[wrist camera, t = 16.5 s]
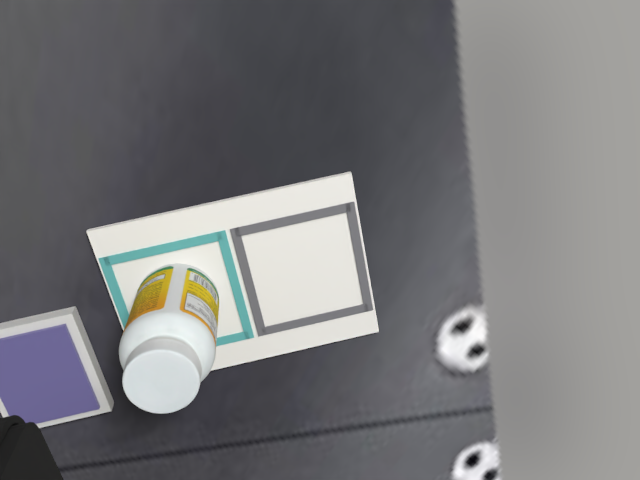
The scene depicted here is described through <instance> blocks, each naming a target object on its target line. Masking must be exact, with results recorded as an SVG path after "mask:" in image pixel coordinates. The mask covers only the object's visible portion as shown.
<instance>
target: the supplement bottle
mask: <svg viewBox="0 0 640 480" xmlns="http://www.w3.org/2000/svg"><path fill="white" fill-rule="evenodd" d="M218 314H219V294H218V290H217V287H216V285H215V284H214V282H213V280H212V279H211V278H210V277H209V276H208V275H207V274H206V273H205V272H203V271H202V270H200V269H199V268H197V267H194V266H191V265H188V264H181V263H175V264H167V265H164V266H162V267H160V268H157V269H156V270H154V271H152V272H151V273H150V274H148V275H147V276H146V277H145V279H144V280H143V281H142V283H141V284H140V286H139V288H138V291H137V294H136V297H135V300H134V303H133V306H132V309H131V312H130V314H129V317H128V320H127V323H126V326H125V329H124V331H123V334H122V337H121V341H120V345H119V359H120V363H121V366H122V368H123V370H124V372H123V377H122V384H123V389H124V391H125V394H126V396H127V397H128V399H129V400H130V401H131V402H132V403H133V404H134V405H136V406H137V407H139V408H140V409H142V410H145V411H147V412H151V413H159V414H163V413H172V412H175V411H178V410H180V409H182V408H184V407H186V406H187V405H188V404H190V403H191V402H192V400H193V399H194V398H195V396H196V395H197V393H198V390H199V387H200V382H202V381H203V380H204V378H205V377H206V376H207V375H208V374H209V372H210V370H211V368H212V366H213V363H214V360H215V354H216V341H217V327H218Z"/></svg>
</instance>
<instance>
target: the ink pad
mask: <svg viewBox="0 0 640 480" xmlns="http://www.w3.org/2000/svg"><path fill="white" fill-rule="evenodd" d="M113 405H114V401H113V398H112V396H111V393H110V391H109V388H108V386H107V383H106V381H105V378H104V376H103V373H102V371H101V368H100V366H99V363H98V361H97V358H96V356H95V353H94V351H93V348H92V346H91V343H90V341H89V338H88V336H87V333H86V331H85V328H84V326H83V323H82V321H81V318H80V316H79V313H78V311H77V308H76V306H74V307H70V308H65V309H61V310H56V311H52V312H48V313H43V314H39V315H34V316H30V317H25V318H21V319H17V320H12V321H8V322H3V323H0V412H1V414H2V416H3V418H4V417H8V416H12V415H17V416H20V417H21V418H22V419H23V420H24V421H25V423H28V422H34V423H35V424H36V425H37V426H38V428H42V427H46V426H50V425H55V424H59V423H63V422H67V421H72V420H76V419H80V418H85V417H89V416H93V415H97V414H102V413H106V412H110V411H112V408H113Z"/></svg>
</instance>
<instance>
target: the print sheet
mask: <svg viewBox="0 0 640 480" xmlns="http://www.w3.org/2000/svg"><path fill="white" fill-rule="evenodd" d="M86 232H87V235H88V237H89V240H90V243H91V246H92V248H93V251H94V254H95V256H96V259H97V262H98V264H99V267H100V270H101V272H102V275H103V278H104V281H105V283H106V286H107V289H108V291H109V294H110V297H111V299H112V302H113V305H114V307H115V310H116V313H117V316H118V318H119V321H120V324H121V326H122V329H123V331H124V329H125V326H126V323H127V320H128V317H129V314H130V312H131V309H132V306H133V303H134V300H135V297H136V294H137V291H138V288H139V286H140V284H141V283H142V281H143V280H144V279H145V277H146V276H147V275H148V274H150V273H151V272H152V271H154V270H156V269H157V268H160V267H162V266H164V265H167V264H175V263H181V264H188V265H191V266H194V267H197V268H199V269H200V270H202V271H203V272H205V273H206V274H207V275H208V276H209V277H210V278H211V279H212V280H213V282H214V284H215V285H216V287H217V290H218V294H219V314H218V327H217V341H216V354H215V360H214V363H213V366H212V368H211V370H210V371H212V370H216V369H221V368H225V367H229V366H234V365H238V364H242V363H246V362H251V361H255V360H259V359H264V358H268V357H272V356H277V355H281V354H285V353H290V352H294V351H298V350H302V349H307V348H311V347H315V346H320V345H324V344H328V343H333V342H337V341H341V340H346V339H350V338H354V337H358V336H363V335H367V334H371V333H376V332H379V328H378V323H377V317H376V311H375V306H374V300H373V294H372V288H371V283H370V277H369V271H368V265H367V260H366V254H365V248H364V242H363V237H362V231H361V225H360V220H359V214H358V208H357V202H356V197H355V191H354V185H353V179H352V174H351V172H346V173H341V174H337V175H332V176H328V177H323V178H319V179H314V180H310V181H305V182H300V183H296V184H291V185H287V186H282V187H278V188H273V189H269V190H264V191H260V192H255V193H251V194H246V195H241V196H237V197H232V198H228V199H223V200H219V201H214V202H210V203H205V204H201V205H196V206H192V207H187V208H182V209H178V210H173V211H169V212H164V213H160V214H155V215H151V216H146V217H142V218H137V219H133V220H128V221H123V222H119V223H114V224H110V225H105V226H101V227H96V228H92V229H88V230H87V231H86Z"/></svg>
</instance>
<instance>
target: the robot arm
mask: <svg viewBox="0 0 640 480" xmlns="http://www.w3.org/2000/svg"><path fill="white" fill-rule="evenodd" d="M0 480H63V478H62V476H61V473H60V471H59V469H58V467H57V465H56V463H55V461H54V459H53V456H52V454H51V452H50V450H49V448H48V446H47V444H46V442H45V440H44V437H43V435H42V433H41V431H40V429H39V428H38V426H37V425H36V424H35V423H34V422H28V423H25V421H24V420H23V419H22V418H21V417H20V416H17V415H12V416H8V417H4V418H0Z"/></svg>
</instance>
